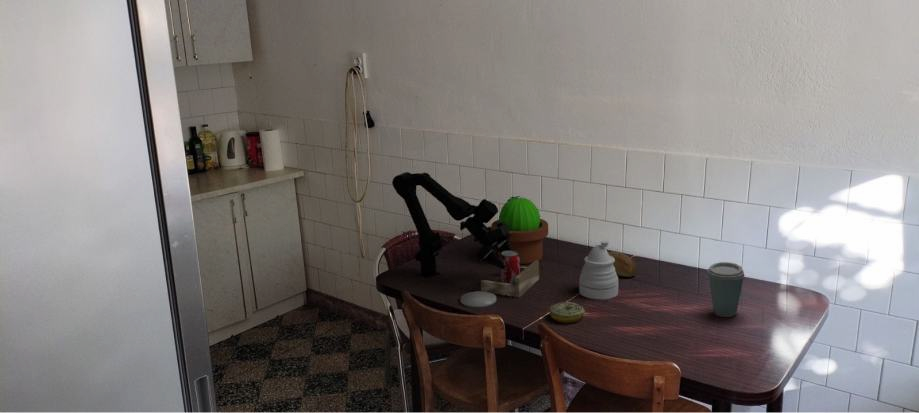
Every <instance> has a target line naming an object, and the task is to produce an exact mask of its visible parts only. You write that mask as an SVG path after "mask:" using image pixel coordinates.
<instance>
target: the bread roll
mask: <svg viewBox="0 0 919 413" xmlns="http://www.w3.org/2000/svg"><path fill="white" fill-rule="evenodd" d="M608 254H609V256H612V257H613V258H614V259H615V262H614V263H613V266H614V267H615V271H616V275H617V276H620V277H626V278H627V277H628V278H629V277H630V278H631V277H634V276H636V274H637V273H638V272H637V271H638V270H637V269H638V268H637V265H636V262H635V261H634V259H632V257H630V256H629V255H628V254H625V253H623V252H620V251H619V252H618V251H610V252H608Z"/></svg>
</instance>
